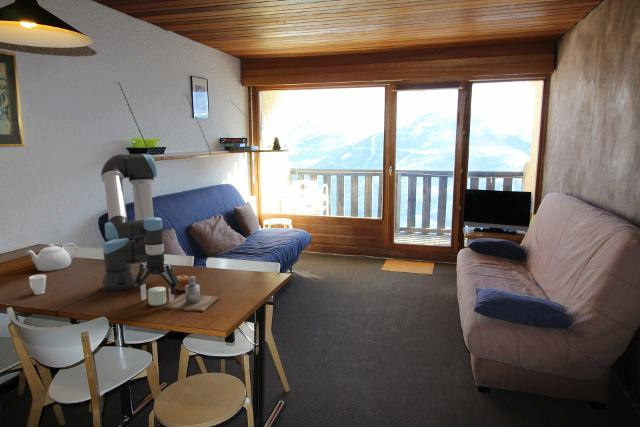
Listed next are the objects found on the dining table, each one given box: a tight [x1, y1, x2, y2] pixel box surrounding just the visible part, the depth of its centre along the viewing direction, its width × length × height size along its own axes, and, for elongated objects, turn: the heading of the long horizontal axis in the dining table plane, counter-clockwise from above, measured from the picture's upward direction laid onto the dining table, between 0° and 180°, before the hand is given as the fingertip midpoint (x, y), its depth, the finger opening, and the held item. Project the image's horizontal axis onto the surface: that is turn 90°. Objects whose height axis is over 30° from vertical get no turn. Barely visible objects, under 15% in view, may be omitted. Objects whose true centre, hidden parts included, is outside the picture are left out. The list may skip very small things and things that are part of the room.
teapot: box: [26, 242, 79, 272], centre depth 248 cm, size 19×18×14 cm
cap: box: [147, 286, 168, 306], centre depth 193 cm, size 7×7×6 cm
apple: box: [175, 274, 190, 291], centre depth 210 cm, size 8×8×8 cm
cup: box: [28, 273, 47, 295], centre depth 206 cm, size 7×10×8 cm
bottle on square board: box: [164, 275, 221, 313], centre depth 191 cm, size 18×16×12 cm
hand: (157, 300), depth 193 cm, fingers open, 13 cm apart
